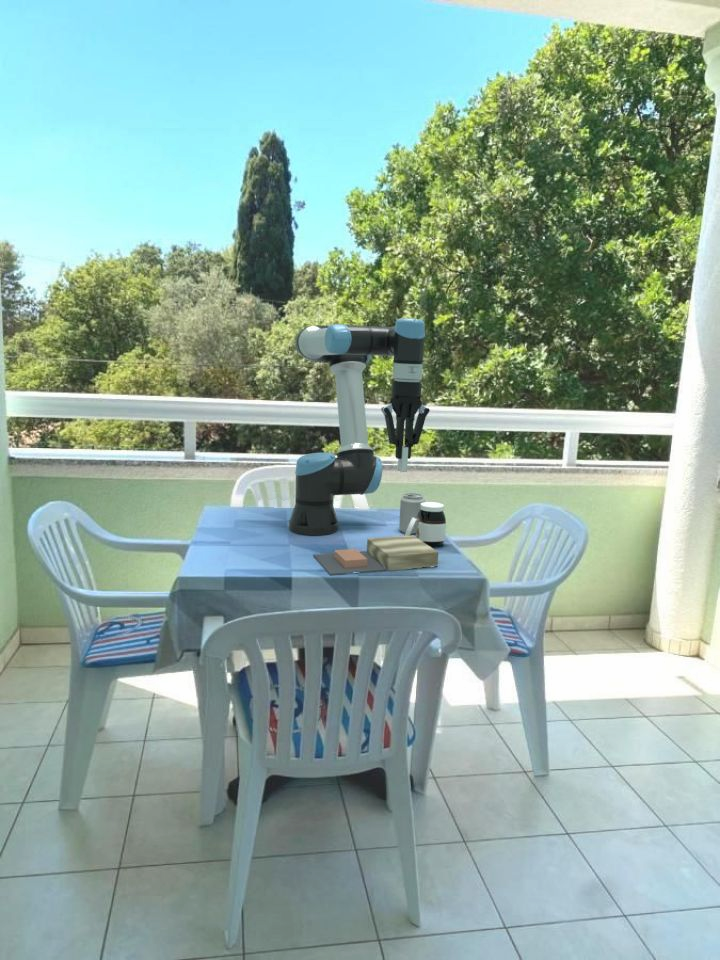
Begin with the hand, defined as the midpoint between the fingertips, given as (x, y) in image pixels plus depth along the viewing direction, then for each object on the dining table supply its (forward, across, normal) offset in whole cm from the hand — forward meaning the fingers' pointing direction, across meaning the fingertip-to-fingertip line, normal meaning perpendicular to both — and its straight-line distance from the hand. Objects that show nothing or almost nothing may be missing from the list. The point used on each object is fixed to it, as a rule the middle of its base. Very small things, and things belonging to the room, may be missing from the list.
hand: (402, 470), depth 177 cm
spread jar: (+25, +14, +14) cm, 32 cm away
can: (+25, +15, +25) cm, 38 cm away
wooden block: (+24, +1, 0) cm, 24 cm away
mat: (+24, -14, 0) cm, 28 cm away
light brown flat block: (+22, -14, 0) cm, 26 cm away
